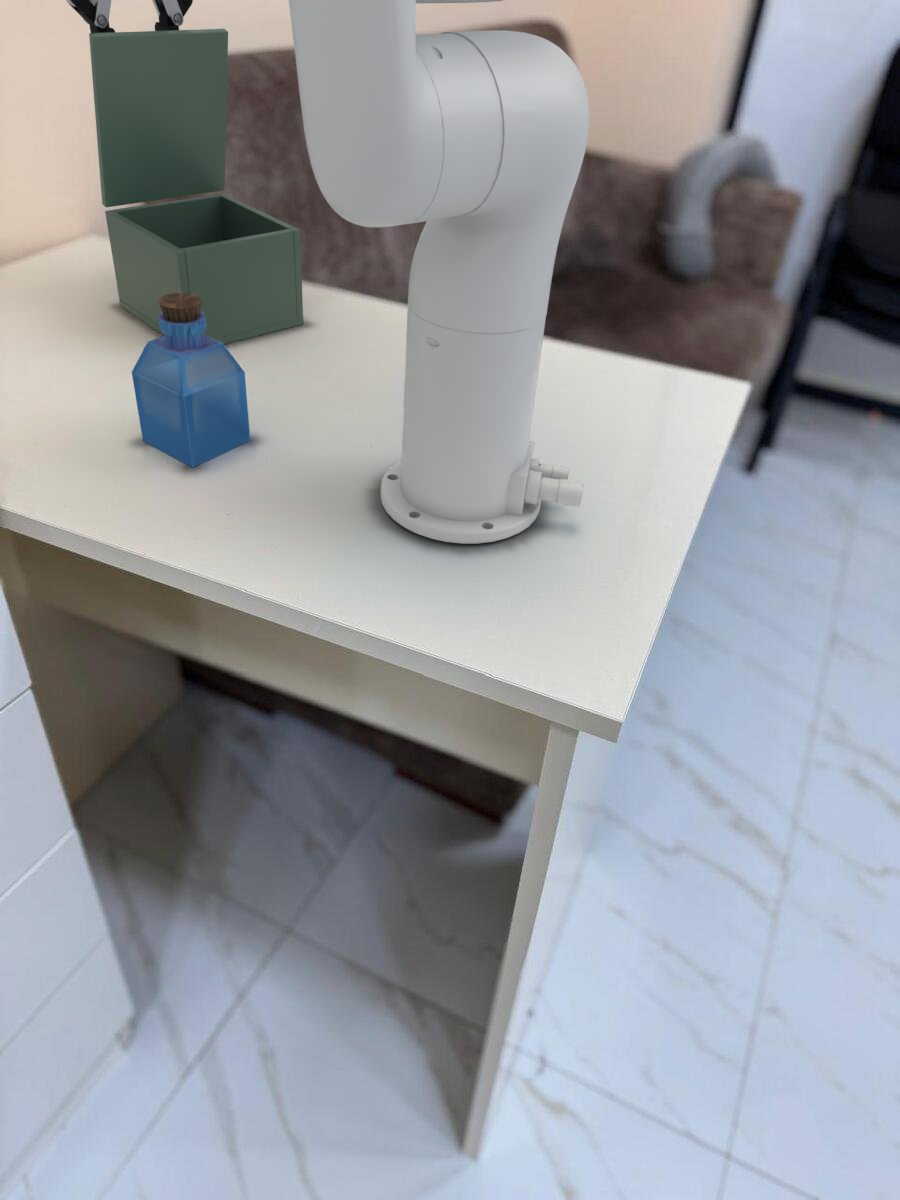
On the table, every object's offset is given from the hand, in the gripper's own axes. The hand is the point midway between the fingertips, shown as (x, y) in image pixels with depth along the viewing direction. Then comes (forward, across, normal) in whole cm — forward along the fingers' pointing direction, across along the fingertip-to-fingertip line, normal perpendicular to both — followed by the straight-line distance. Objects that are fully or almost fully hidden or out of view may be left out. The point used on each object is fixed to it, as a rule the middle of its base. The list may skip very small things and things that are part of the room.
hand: (140, 70), depth 89 cm
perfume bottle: (+22, -15, -32) cm, 42 cm away
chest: (+22, 0, -9) cm, 23 cm away
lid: (+4, 0, -4) cm, 5 cm away
